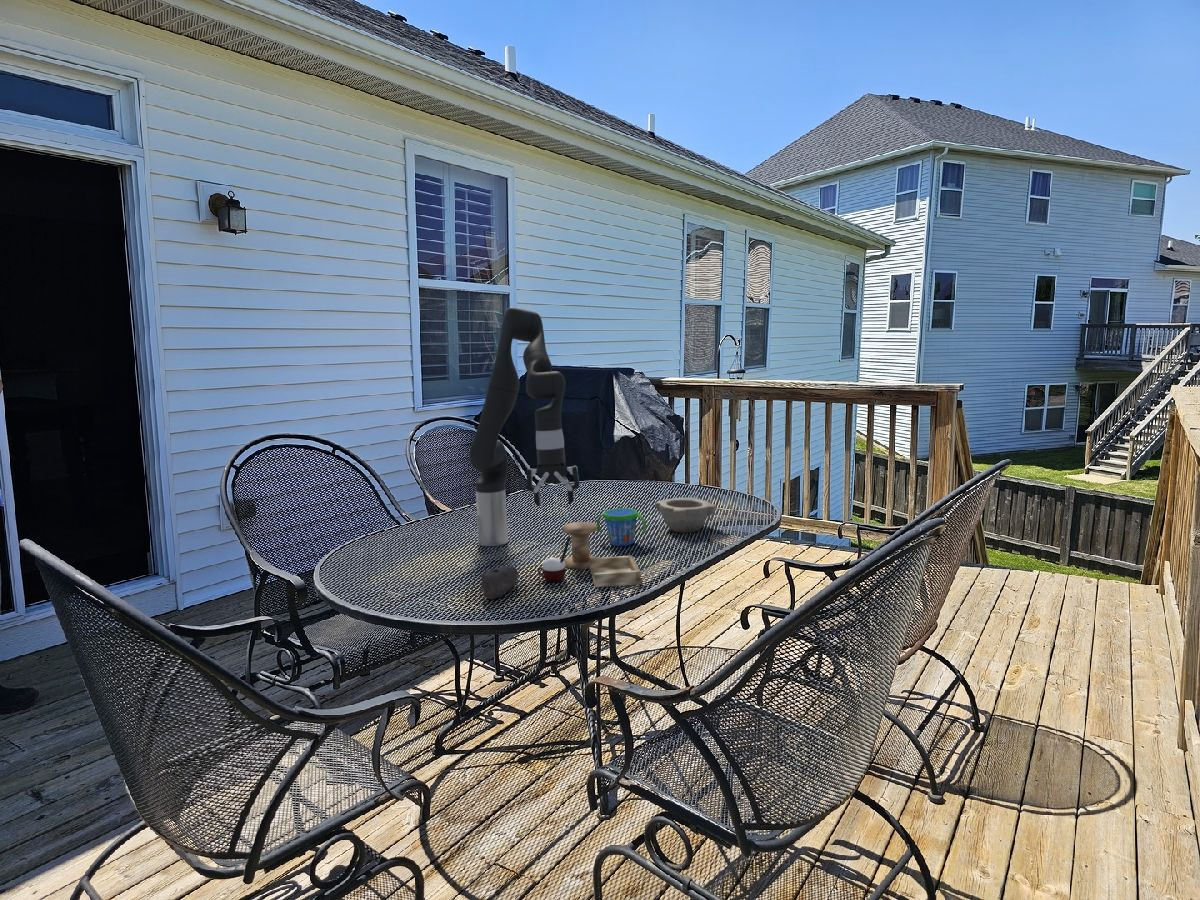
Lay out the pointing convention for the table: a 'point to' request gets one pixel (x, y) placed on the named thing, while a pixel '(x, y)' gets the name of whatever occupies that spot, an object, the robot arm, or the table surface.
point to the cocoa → (554, 567)
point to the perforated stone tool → (498, 581)
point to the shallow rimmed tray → (614, 571)
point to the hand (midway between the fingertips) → (554, 504)
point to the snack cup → (621, 525)
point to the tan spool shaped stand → (579, 544)
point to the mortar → (685, 513)
